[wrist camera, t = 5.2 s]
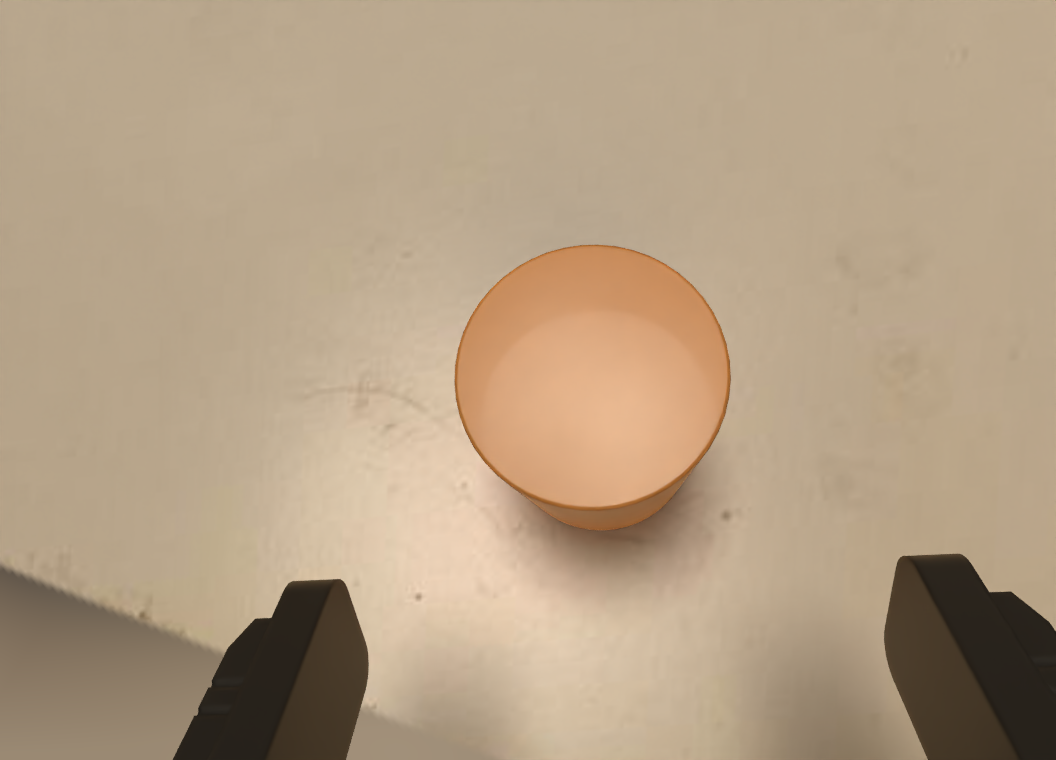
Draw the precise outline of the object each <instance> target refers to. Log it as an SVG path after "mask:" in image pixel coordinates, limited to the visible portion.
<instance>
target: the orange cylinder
mask: <svg viewBox="0 0 1056 760" xmlns="http://www.w3.org/2000/svg"><path fill="white" fill-rule="evenodd" d="M730 381H731V376H730V360H729V355H728V350H727V344H726V341H725V338H724V335H723V332H722V329H721V327H720V325H719V323H718V321H717V319H716V317H715V315H714V313H713V311H712V309H711V308H710V307H709V305H708V304H707V302H706V301H705V299H704V298H703V296H702V295H701V294H700V293H699V292H698V291H697V290H696V289H695V288H694V286H693V285H692V284H691V283H690V282H688V281H687V280H686V279H685V278H684V277H683V276H681V275H680V274H679V273H678V272H676V271H675V270H673V269H672V268H670V267H669V266H667V265H666V264H664V263H662V262H660V261H658V260H656V259H654V258H652V257H650V256H648V255H645V254H642V253H639V252H636V251H633V250H630V249H625V248H620V247H616V246H605V245H580V246H573V247H567V248H562V249H558V250H555V251H551V252H548V253H545V254H543V255H540V256H538V257H536V258H533V259H531V260H529V261H527V262H526V263H524V264H522V265H520V266H519V267H517V268H515V269H514V270H513V271H511V272H510V273H509V274H507V275H506V276H505V277H503V278H502V279H501V280H500V281H499V282H498V283H497V284H496V285H495V286H494V287H493V288H492V289H490V291H489V292H488V293H487V294H486V296H485V297H484V298H483V299H482V300H481V302H480V303H479V304H478V306H477V308H476V309H475V311H474V312H473V314H472V316H471V317H470V319H469V321H468V324H467V326H466V328H465V330H464V332H463V335H462V338H461V342H460V345H459V348H458V353H457V359H456V364H455V393H456V401H457V406H458V410H459V414H460V418H461V420H462V423H463V426H464V428H465V431H466V433H467V435H468V437H469V439H470V441H471V443H472V445H473V446H474V448H475V450H476V451H477V452H478V454H479V455H480V456H481V458H482V459H483V461H484V462H485V463H486V464H487V465H488V466H489V467H490V468H491V469H492V470H493V471H494V473H495V474H496V475H497V476H499V477H500V478H501V479H502V480H504V481H505V482H506V483H507V484H509V485H510V486H511V487H513V488H514V489H515V490H517V491H518V492H519V493H521V494H522V495H523V496H525V497H526V498H527V499H529V500H530V501H531V502H533V503H534V504H535V505H537V506H538V507H540V508H541V509H542V510H544V511H545V512H546V513H548V514H549V515H551V516H552V517H554V518H556V519H557V520H559V521H562V522H564V523H566V524H568V525H571V526H575V527H578V528H582V529H589V530H613V529H620V528H624V527H628V526H631V525H634V524H636V523H638V522H641V521H643V520H645V519H646V518H648V517H650V516H652V515H653V514H654V513H656V512H657V511H658V510H660V509H661V508H662V507H663V506H664V505H665V504H666V503H667V502H668V501H669V500H670V499H671V498H672V496H673V495H674V494H675V493H676V491H677V490H678V489H679V487H680V486H681V485H682V483H683V482H684V481H685V480H686V478H687V477H688V476H689V474H690V473H691V472H692V470H693V469H694V468H695V467H696V465H697V464H698V463H699V461H700V460H701V459H702V457H703V456H704V455H705V453H706V452H707V451H708V449H709V448H710V446H711V444H712V442H713V441H714V439H715V437H716V435H717V433H718V432H719V429H720V426H721V424H722V421H723V419H724V416H725V413H726V408H727V404H728V400H729V392H730Z"/></svg>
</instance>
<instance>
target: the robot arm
mask: <svg viewBox="0 0 1056 760" xmlns="http://www.w3.org/2000/svg"><path fill="white" fill-rule="evenodd" d="M884 643H885V651H886V657H887V661H888V665H889V669H890V672H891V675H892V677H893V680H894V682H895V684H896V687H897V689H898V691H899V694H900V696H901V698H902V701H903V703H904V705H905V707H906V710H907V712H908V714H909V717H910V719H911V721H912V724H913V726H914V728H915V731H916V733H917V735H918V738H919V740H920V742H921V745H922V747H923V749H924V752H925V754H926V756H927V759H928V760H1056V631H1055V630H1054V628H1053V627H1052V625H1051V624H1050V623H1049V622H1048V621H1047V620H1046V619H1045V618H1043V617H1042V616H1041V615H1040V614H1038V613H1037V612H1036V611H1035V610H1033V609H1032V608H1031V607H1030V606H1028V605H1027V604H1026V603H1025V602H1023V601H1022V600H1021V599H1019V598H1018V597H1017V596H1016V595H1014V594H1013V593H1012V592H989V591H988V589H987V588H986V586H985V585H984V583H983V582H982V580H981V578H980V577H979V575H978V574H977V572H976V571H975V569H974V567H973V566H972V564H971V563H970V562H969V560H968V559H967V558H966V557H965V556H963V555H961V554H941V555H918V556H902V557H900V559H899V560H898V562H897V566H896V571H895V576H894V581H893V587H892V592H891V598H890V603H889V608H888V614H887V619H886V624H885V631H884ZM368 666H369V662H368V651H367V646H366V642H365V639H364V636H363V633H362V630H361V627H360V625H359V622H358V619H357V616H356V613H355V610H354V607H353V604H352V601H351V598H350V595H349V592H348V589H347V587H346V584H345V583H344V582H343V581H342V580H341V579H333V580H310V581H292V582H290V583H289V584H288V585H287V586H286V588H285V590H284V591H283V594H282V596H281V598H280V600H279V602H278V605H277V607H276V609H275V611H274V613H273V616H272V618H262V619H255V620H254V621H253V622H252V623H251V624H250V625H249V626H248V627H247V628H246V629H245V630H244V631H243V633H242V634H241V635H240V636H239V637H238V638H237V639H236V640H235V641H234V642H233V643H232V644H231V645H230V646H229V647H228V649H227V651H226V653H225V655H224V657H223V659H222V661H221V663H220V665H219V668H218V669H217V671H216V673H215V675H214V677H213V680H212V686H211V688H208V690H207V692H206V694H205V696H204V698H203V700H202V702H201V704H200V706H199V708H198V711H199V712H198V715H197V716H194V718H193V720H192V722H191V724H190V726H189V728H188V730H187V732H186V734H185V736H184V738H183V740H182V742H181V744H180V746H179V748H178V750H177V753H176V754H175V756H174V758H173V760H346V757H347V753H348V750H349V746H350V743H351V739H352V736H353V732H354V729H355V725H356V721H357V718H358V714H359V711H360V707H361V704H362V700H363V697H364V693H365V690H366V685H367V679H368Z"/></svg>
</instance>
